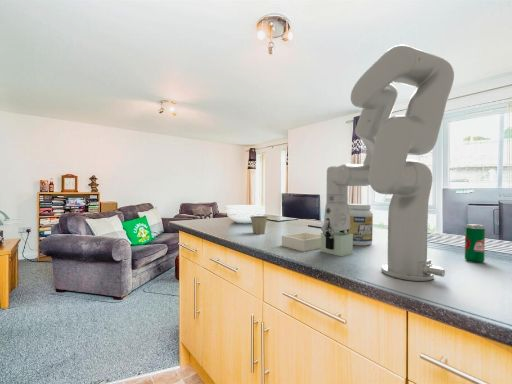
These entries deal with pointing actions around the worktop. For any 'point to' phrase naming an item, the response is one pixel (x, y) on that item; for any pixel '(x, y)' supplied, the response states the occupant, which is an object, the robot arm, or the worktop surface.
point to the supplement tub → (361, 224)
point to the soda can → (475, 243)
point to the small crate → (339, 244)
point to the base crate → (302, 241)
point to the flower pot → (259, 224)
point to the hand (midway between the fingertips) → (336, 247)
